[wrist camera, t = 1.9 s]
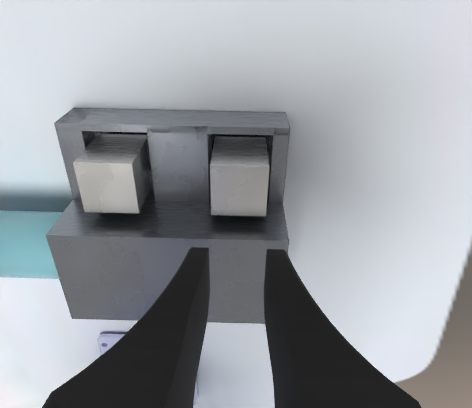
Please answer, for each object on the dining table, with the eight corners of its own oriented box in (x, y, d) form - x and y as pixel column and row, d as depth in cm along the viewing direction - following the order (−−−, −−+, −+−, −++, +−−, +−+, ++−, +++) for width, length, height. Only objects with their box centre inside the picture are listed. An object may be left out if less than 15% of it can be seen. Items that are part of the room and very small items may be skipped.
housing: (272, 256, 26) (279, 323, 21) (105, 252, 26) (72, 318, 21) (285, 112, 21) (298, 157, 16) (73, 107, 21) (18, 150, 16)
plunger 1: (154, 179, 22) (138, 213, 19) (107, 178, 22) (84, 211, 19) (148, 134, 21) (131, 163, 17) (98, 133, 21) (72, 162, 17)
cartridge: (166, 199, 23) (152, 241, 19) (171, 252, 25) (159, 298, 22) (-38, 195, 23) (-90, 235, 20) (-15, 247, 25) (-58, 292, 22)
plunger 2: (262, 181, 22) (265, 216, 19) (215, 180, 22) (211, 215, 19) (265, 137, 21) (269, 167, 17) (215, 136, 21) (209, 165, 17)
